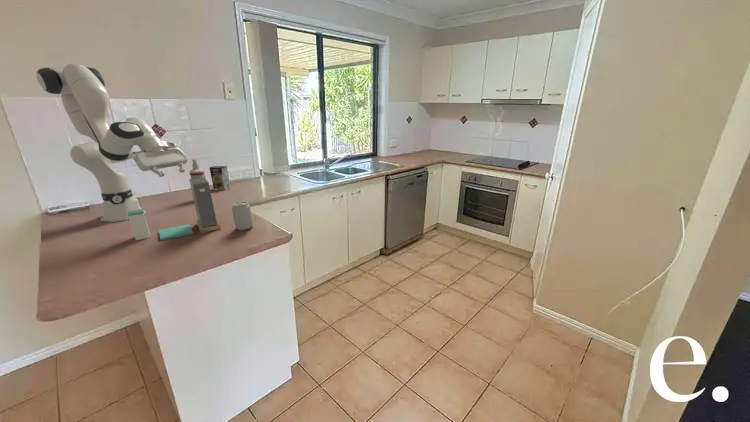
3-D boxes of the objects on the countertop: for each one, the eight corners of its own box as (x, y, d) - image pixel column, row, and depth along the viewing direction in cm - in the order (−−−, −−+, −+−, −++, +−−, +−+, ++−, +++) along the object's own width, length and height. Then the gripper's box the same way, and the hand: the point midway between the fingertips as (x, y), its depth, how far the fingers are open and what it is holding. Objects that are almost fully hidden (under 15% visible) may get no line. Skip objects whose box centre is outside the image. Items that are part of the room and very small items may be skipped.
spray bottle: (192, 200, 184) (183, 160, 176) (203, 197, 191) (195, 158, 183) (202, 201, 182) (192, 160, 174) (212, 198, 188) (204, 158, 180)
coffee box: (213, 190, 208) (208, 167, 203) (219, 188, 214) (215, 165, 209) (225, 190, 207) (220, 167, 202) (231, 188, 213) (226, 165, 208)
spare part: (136, 236, 132) (128, 211, 128) (150, 233, 135) (142, 208, 131) (135, 240, 128) (128, 214, 124) (150, 237, 131) (142, 211, 127)
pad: (159, 232, 136) (158, 230, 136) (189, 226, 143) (189, 224, 142) (160, 240, 127) (160, 238, 127) (193, 233, 134) (192, 231, 133)
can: (236, 232, 134) (231, 206, 130) (235, 227, 140) (230, 202, 136) (254, 229, 137) (250, 203, 133) (252, 223, 143) (248, 199, 139)
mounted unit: (196, 223, 145) (186, 179, 138) (214, 220, 150) (205, 176, 143) (201, 233, 134) (190, 185, 127) (220, 228, 138) (211, 182, 131)
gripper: (130, 147, 124) (150, 174, 124) (178, 142, 142) (196, 165, 142) (126, 157, 128) (146, 182, 127) (174, 151, 145) (191, 173, 145)
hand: (173, 173), depth 135 cm, fingers open, 8 cm apart
